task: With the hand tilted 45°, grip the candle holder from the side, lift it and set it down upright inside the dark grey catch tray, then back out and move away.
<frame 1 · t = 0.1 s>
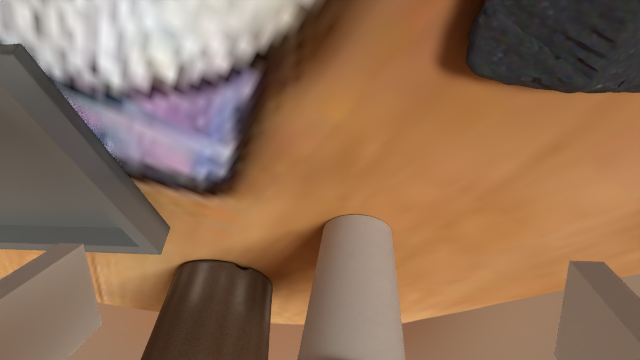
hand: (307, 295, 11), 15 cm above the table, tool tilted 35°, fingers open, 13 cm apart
coffee cup: (357, 230, 40), on the table
plant pot: (227, 277, 53), on the table
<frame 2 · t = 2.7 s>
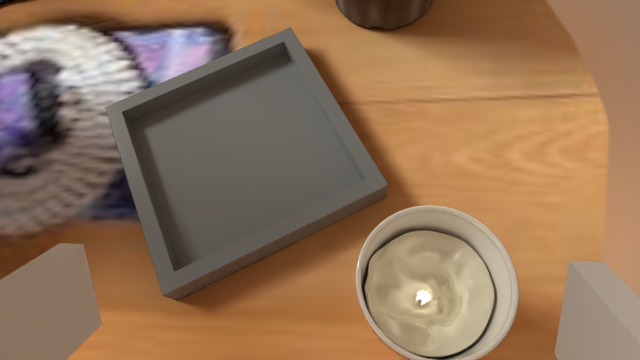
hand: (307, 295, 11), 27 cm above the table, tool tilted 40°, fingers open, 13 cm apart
catch tray: (243, 156, 44), on the table
candle holder: (413, 306, 37), on the table
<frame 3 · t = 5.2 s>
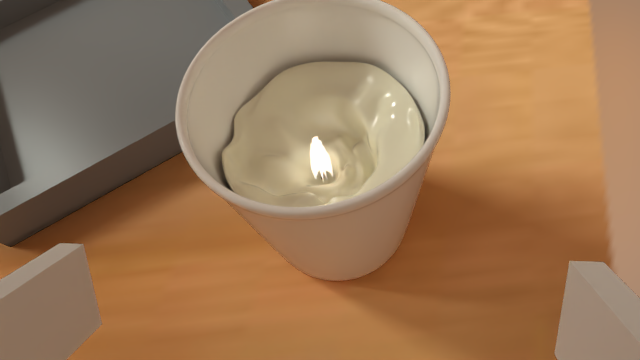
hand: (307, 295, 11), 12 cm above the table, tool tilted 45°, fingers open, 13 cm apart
catch tray: (116, 64, 34), on the table
candle holder: (338, 215, 26), on the table
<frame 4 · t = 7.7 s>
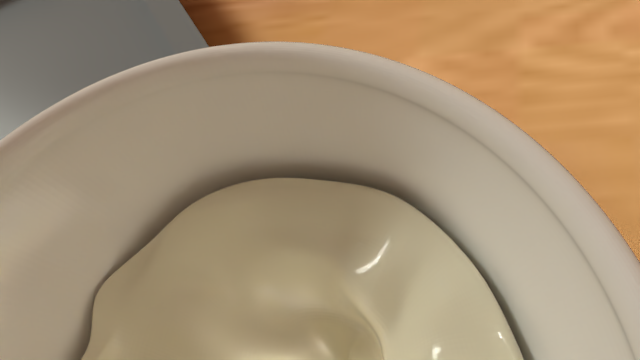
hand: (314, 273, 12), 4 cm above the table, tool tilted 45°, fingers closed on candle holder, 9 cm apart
catch tray: (11, 112, 23), on the table
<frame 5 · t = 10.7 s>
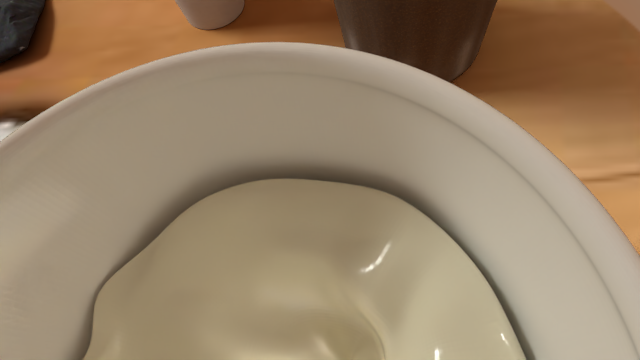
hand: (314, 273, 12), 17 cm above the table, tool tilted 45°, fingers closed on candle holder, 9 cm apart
coffee cup: (216, 9, 45), on the table
plant pot: (408, 43, 39), on the table
when the fingers open (7 cm above the table, at t = 13.7 s): candle holder moves 3 cm, point 2 cm above the table.
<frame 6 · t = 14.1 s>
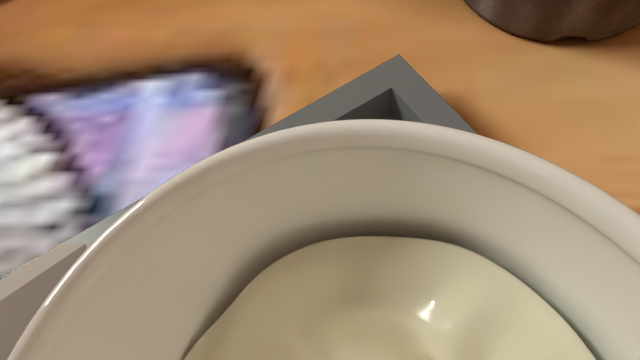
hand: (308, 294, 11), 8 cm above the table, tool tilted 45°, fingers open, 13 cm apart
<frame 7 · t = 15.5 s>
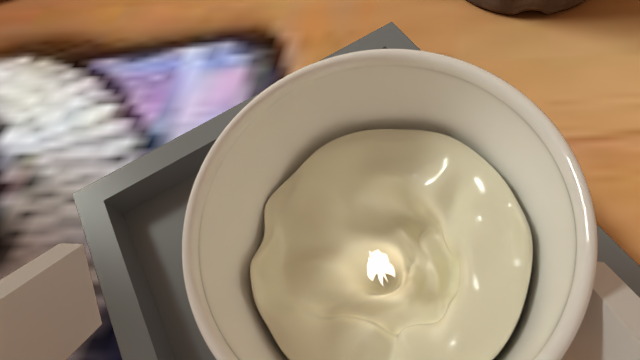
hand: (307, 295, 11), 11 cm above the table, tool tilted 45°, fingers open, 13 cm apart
catch tray: (338, 267, 23), on the table
candle holder: (395, 290, 21), point 1 cm above the table, touching catch tray, gripper
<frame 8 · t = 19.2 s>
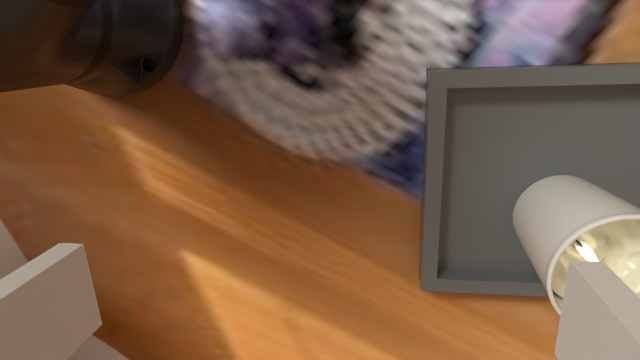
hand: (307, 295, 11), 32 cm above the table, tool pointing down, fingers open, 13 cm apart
catch tray: (538, 181, 41), on the table
candle holder: (555, 213, 41), point 1 cm above the table, touching catch tray
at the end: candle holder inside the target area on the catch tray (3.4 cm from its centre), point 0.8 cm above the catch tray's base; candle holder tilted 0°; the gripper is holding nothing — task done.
